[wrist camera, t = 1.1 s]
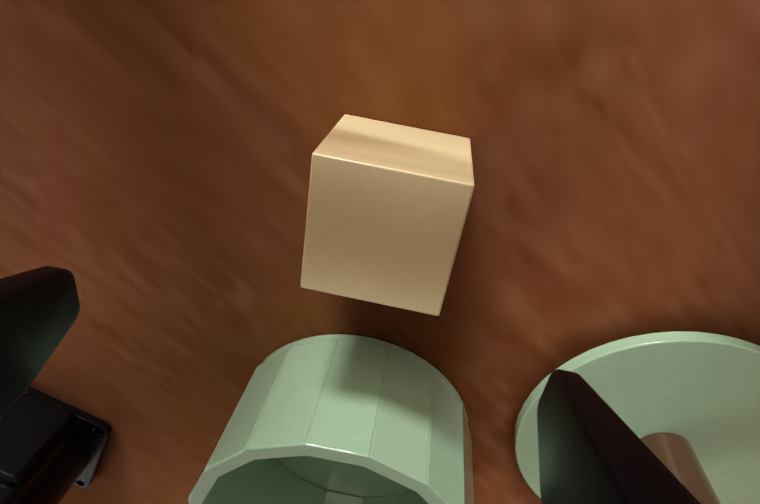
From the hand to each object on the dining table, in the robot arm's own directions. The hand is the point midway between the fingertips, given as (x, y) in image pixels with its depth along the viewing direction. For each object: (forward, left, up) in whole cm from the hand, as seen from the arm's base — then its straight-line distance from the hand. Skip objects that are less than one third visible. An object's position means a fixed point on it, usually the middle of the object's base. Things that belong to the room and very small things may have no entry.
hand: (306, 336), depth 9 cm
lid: (-4, -16, -9) cm, 19 cm away
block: (0, -1, -10) cm, 10 cm away
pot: (-12, -5, -10) cm, 17 cm away
